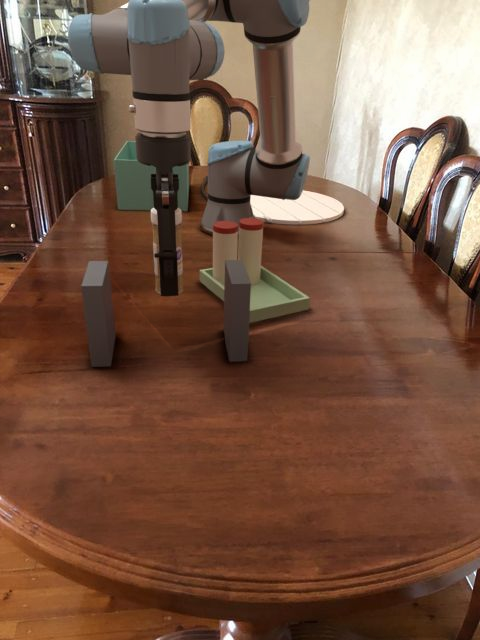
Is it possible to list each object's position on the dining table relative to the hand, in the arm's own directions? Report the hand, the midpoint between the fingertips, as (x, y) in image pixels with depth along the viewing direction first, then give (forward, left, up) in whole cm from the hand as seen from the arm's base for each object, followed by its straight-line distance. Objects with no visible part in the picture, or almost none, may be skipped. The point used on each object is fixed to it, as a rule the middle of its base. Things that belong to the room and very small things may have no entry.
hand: (169, 287), depth 84 cm
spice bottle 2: (-18, +26, -10) cm, 33 cm away
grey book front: (-4, -10, -11) cm, 16 cm away
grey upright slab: (+4, +10, -11) cm, 16 cm away
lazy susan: (-69, +68, -11) cm, 97 cm away
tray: (-12, +23, -11) cm, 28 cm away
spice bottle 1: (-18, +20, -10) cm, 29 cm away
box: (-93, +34, -11) cm, 99 cm away
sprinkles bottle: (0, 0, -1) cm, 1 cm away
